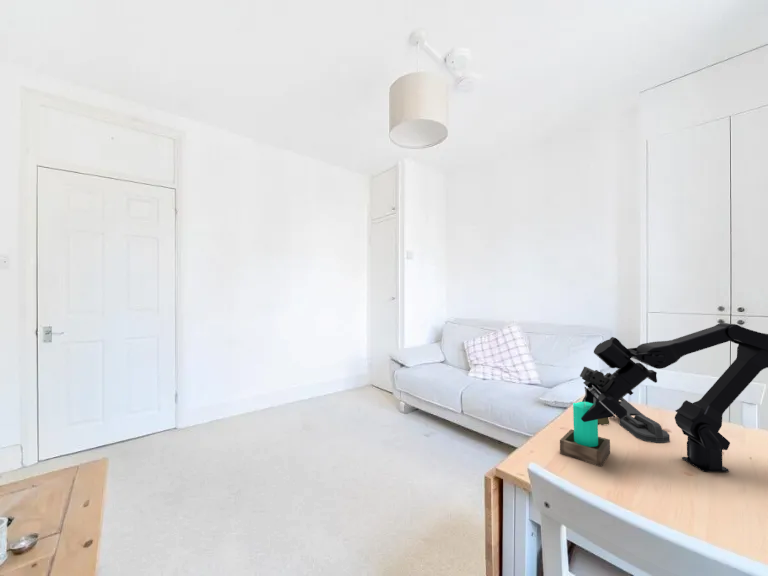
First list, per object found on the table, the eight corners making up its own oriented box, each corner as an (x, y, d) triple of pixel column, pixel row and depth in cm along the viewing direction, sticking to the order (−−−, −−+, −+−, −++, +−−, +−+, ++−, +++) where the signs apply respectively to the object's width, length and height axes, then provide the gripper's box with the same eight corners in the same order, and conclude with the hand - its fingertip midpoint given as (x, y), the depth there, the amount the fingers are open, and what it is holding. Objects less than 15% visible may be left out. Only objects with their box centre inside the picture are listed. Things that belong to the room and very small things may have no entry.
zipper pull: (620, 394, 124) (675, 421, 99) (621, 412, 124) (675, 443, 99) (596, 394, 125) (644, 421, 100) (596, 412, 125) (644, 443, 100)
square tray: (610, 453, 94) (609, 439, 94) (601, 466, 87) (601, 452, 87) (571, 441, 101) (570, 429, 101) (560, 453, 94) (559, 440, 94)
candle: (593, 437, 96) (592, 396, 96) (602, 447, 90) (601, 403, 90) (570, 436, 97) (569, 395, 97) (578, 446, 91) (576, 402, 91)
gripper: (590, 352, 101) (551, 385, 105) (610, 366, 84) (563, 405, 87) (621, 379, 99) (580, 412, 102) (649, 399, 81) (598, 439, 85)
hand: (579, 416), depth 94 cm, fingers closed on candle, 5 cm apart
